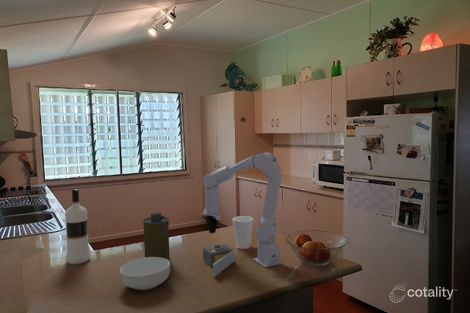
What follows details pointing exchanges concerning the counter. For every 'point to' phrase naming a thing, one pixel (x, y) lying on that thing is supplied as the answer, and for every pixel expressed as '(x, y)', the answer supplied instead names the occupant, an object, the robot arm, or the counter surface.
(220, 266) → the side door
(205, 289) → the counter surface
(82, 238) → the vodka
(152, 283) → the cereal bowl
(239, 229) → the foam cup
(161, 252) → the canister
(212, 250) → the camera body
